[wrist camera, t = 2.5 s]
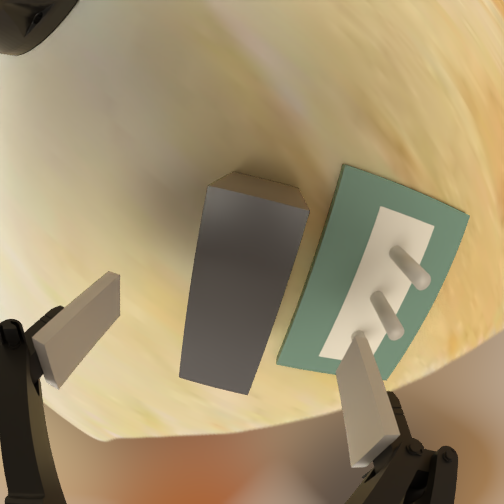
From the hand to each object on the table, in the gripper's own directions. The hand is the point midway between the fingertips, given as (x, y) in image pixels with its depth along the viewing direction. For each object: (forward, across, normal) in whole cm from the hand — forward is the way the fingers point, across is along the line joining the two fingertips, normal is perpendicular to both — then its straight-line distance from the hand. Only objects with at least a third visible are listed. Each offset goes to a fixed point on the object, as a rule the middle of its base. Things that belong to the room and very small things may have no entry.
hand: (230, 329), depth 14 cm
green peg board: (+8, +11, 0) cm, 14 cm away
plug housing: (+8, 0, 0) cm, 8 cm away
